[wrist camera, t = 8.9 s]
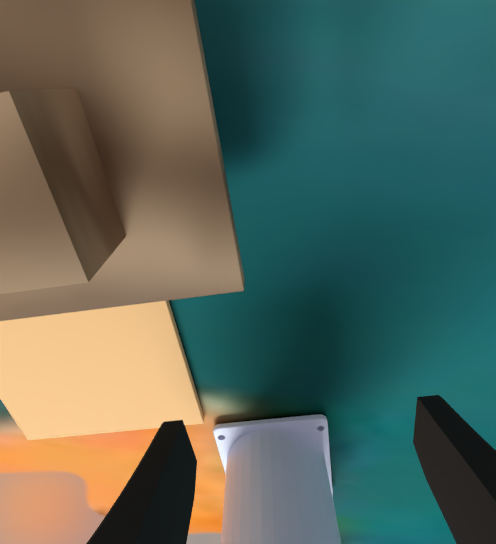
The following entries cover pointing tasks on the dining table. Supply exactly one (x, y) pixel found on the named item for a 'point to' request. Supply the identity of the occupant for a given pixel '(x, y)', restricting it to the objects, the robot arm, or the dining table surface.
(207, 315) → the dining table surface
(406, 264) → the dining table surface
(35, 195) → the lid
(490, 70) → the dining table surface
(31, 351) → the mat
